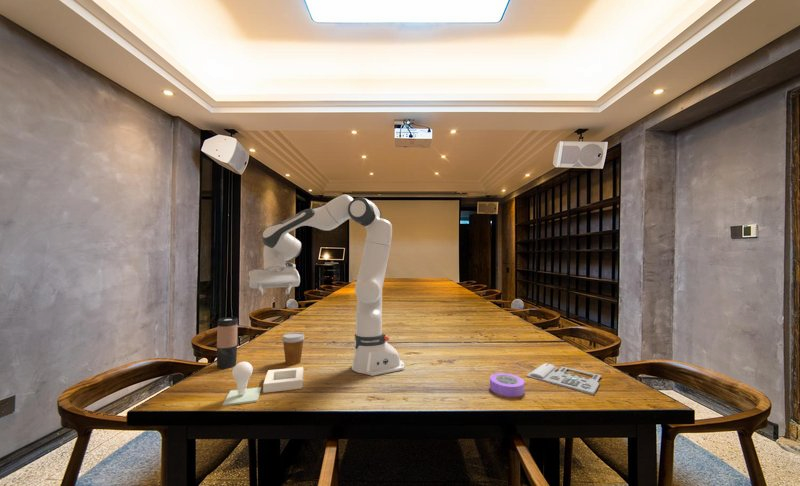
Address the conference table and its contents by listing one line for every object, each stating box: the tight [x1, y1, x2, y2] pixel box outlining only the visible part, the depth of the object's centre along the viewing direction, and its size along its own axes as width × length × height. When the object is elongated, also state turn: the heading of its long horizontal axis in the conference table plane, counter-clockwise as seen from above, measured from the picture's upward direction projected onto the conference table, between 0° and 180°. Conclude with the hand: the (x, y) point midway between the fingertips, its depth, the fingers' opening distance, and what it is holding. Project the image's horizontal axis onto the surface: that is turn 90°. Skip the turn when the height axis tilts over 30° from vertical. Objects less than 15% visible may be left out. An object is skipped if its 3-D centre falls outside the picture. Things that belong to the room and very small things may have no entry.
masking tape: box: [489, 372, 525, 398], centre depth 111 cm, size 12×12×4 cm
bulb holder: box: [262, 366, 304, 394], centre depth 115 cm, size 13×13×3 cm
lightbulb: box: [231, 361, 254, 395], centre depth 104 cm, size 6×6×11 cm
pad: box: [222, 386, 263, 407], centre depth 104 cm, size 10×10×1 cm
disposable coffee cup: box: [281, 332, 306, 366], centre depth 137 cm, size 10×10×12 cm
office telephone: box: [526, 362, 603, 396], centre depth 122 cm, size 23×3×20 cm
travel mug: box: [216, 316, 239, 370], centre depth 132 cm, size 8×8×20 cm
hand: (275, 293), depth 128 cm, fingers open, 8 cm apart
